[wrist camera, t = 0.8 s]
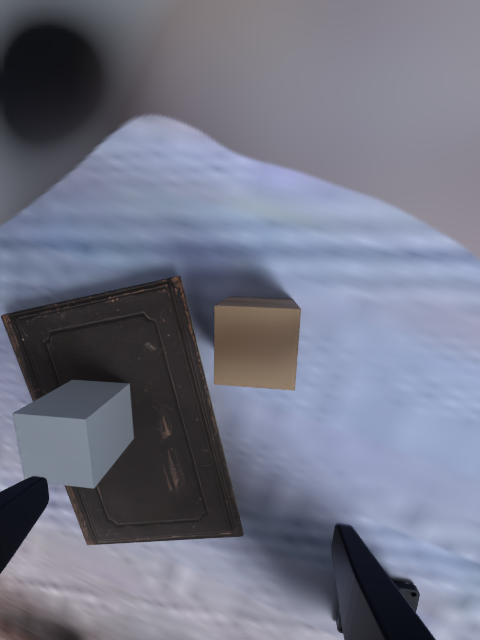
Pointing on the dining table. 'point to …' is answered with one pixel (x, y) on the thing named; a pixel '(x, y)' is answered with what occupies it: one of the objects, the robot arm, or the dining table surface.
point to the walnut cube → (256, 342)
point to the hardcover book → (137, 411)
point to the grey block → (75, 432)
